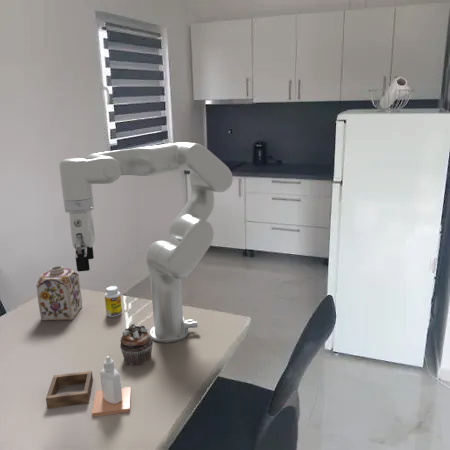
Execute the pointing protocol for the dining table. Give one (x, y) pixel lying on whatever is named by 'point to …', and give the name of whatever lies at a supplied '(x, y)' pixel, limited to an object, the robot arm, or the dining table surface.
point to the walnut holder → (69, 398)
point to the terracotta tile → (107, 408)
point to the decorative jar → (59, 294)
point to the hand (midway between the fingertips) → (85, 264)
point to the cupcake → (136, 345)
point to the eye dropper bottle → (110, 382)
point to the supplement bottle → (113, 301)
